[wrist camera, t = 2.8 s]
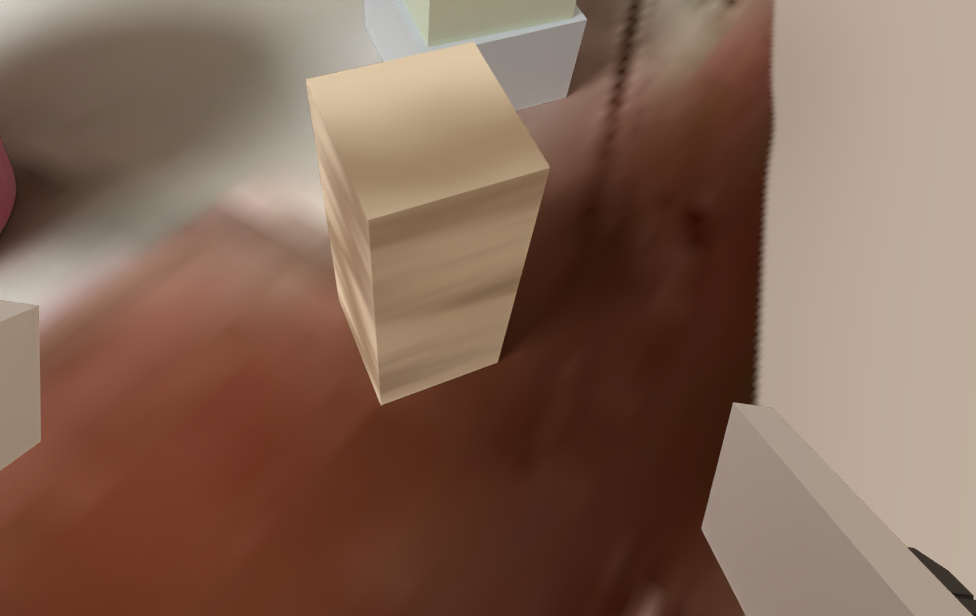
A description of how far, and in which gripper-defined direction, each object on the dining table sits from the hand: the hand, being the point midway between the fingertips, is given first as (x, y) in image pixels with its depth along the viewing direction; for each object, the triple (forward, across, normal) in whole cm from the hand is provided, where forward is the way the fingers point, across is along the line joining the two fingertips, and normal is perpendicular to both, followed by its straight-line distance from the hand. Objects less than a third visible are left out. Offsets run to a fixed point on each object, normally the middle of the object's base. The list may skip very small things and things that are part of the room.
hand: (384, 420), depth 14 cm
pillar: (+16, 0, -3) cm, 16 cm away
